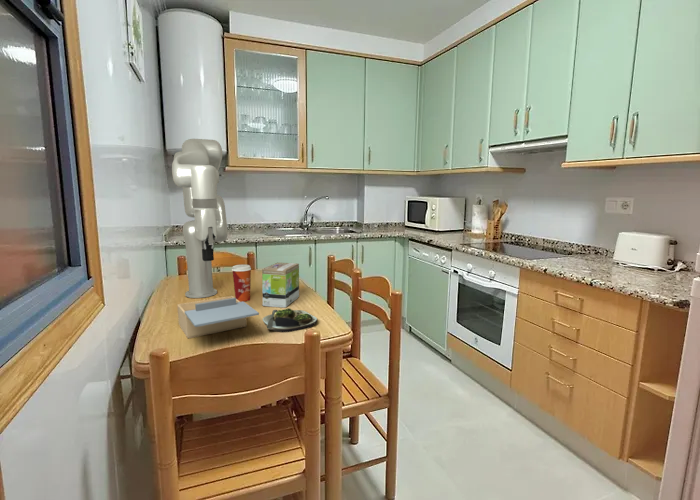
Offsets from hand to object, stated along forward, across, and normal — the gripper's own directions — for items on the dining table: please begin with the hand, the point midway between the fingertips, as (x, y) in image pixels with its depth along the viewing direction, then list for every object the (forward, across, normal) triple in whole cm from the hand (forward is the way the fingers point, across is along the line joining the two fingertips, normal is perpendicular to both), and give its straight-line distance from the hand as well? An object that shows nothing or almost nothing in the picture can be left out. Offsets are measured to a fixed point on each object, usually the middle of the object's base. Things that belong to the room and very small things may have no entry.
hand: (208, 260), depth 123 cm
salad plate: (+21, +17, +21) cm, 34 cm away
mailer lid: (+13, +16, -1) cm, 21 cm away
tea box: (+22, -7, +29) cm, 37 cm away
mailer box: (+21, +5, -1) cm, 22 cm away
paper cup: (+22, -18, +17) cm, 33 cm away
